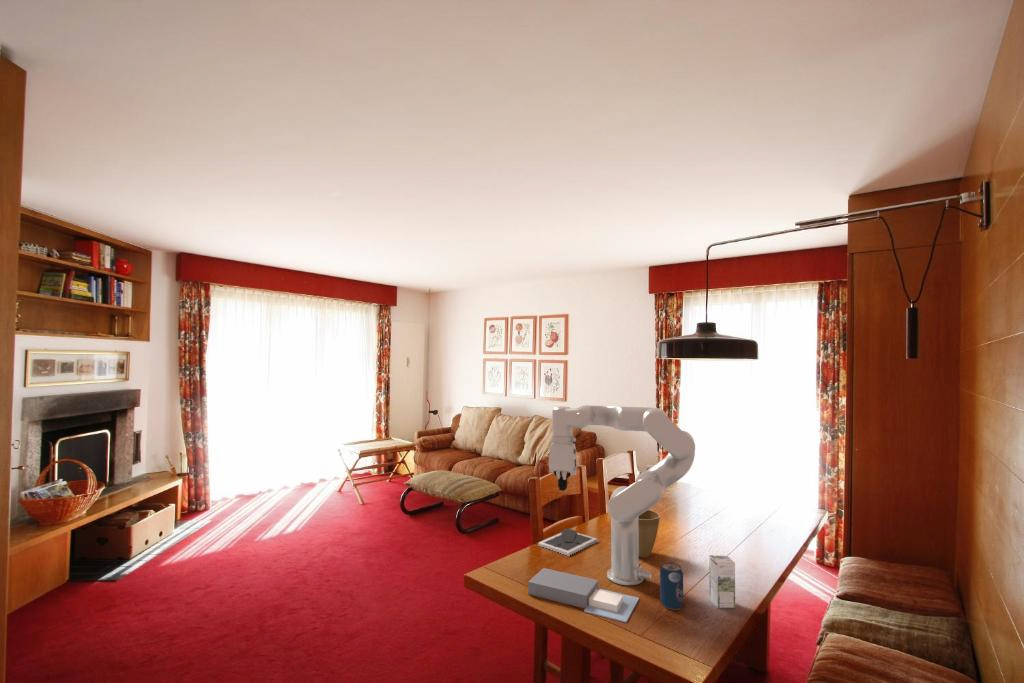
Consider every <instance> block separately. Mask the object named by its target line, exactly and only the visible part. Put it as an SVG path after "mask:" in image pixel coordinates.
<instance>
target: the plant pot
mask: <svg viewBox="0 0 1024 683" xmlns="http://www.w3.org/2000/svg"><path fill="white" fill-rule="evenodd" d="M660 519H661V515H660V514H659V513H658V512H656V511H654V510H650V509H649V510H647V511H646V512H644V513H642V514H641V515H639V516H638V532H639V534H638V540H639V558H644V559H645V558H649V557H651V554H652V552H653V549H654V545H655V543H656V538H657V536H658V530H659V524H660Z"/></svg>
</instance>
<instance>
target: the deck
mask: <svg viewBox="0 0 1024 683" xmlns="http://www.w3.org/2000/svg"><path fill="white" fill-rule="evenodd" d="M527 583H528V584H527V586H528V589H527V590H528V592H527V593H528V595H530V596H535V597H538V598H542V599H545V600H546V599H547V600H549V601H554V602H558V603H562V604H565V605H570V606H573V607H577V608H582V609H584V610H585V608H586V607H587V606H588V604H589V598H590V596H591V595H592V594H593V592H594V591H595V590H599V579H594V578H589V577H585V576H581V575H576V574H572V573H569V572H563V571H558V570H554V569H549V568H546V567H545V568H544V567H543V568H542V569H540V570H539V572H537V573H536V574H535V575H534V576H533V577H532V578H530V580H528V581H527Z"/></svg>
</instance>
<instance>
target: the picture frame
mask: <svg viewBox="0 0 1024 683" xmlns="http://www.w3.org/2000/svg"><path fill="white" fill-rule="evenodd" d="M598 539H599V538H596V537H593V536H589V535H587V534H582V533H579V532H577V530H574V529H571V528H565V529H563V530H561V531H560V533H558V534H557V533H556V534H554V535H553V536H551V537H547V538H545V539H543V540H542V541H538V542H537V546H538V547H540V546H541V547H540V548H542V547H544V548H543V549H545V548H547V549H546V550H548V549H550V550H549V551H551V550H553V551H552V552H554V551H556V552H555V553H557V552H559V553H558V554H560V553H561V555H563V554H564V555H563V556H566V555H567V557H571V556H572V554H573V555H575V554H577V553H579V552H581V551H583V550H585V549H586V547H587V548H588V546H589V547H591V546H593V545H594V544H597V543H598V542H599V540H598ZM592 544H593V545H592ZM590 545H591V546H590ZM584 548H585V549H584ZM582 549H583V550H582ZM580 550H581V551H580ZM578 551H579V552H578ZM576 552H577V553H576ZM574 553H575V554H574ZM570 555H571V556H570Z"/></svg>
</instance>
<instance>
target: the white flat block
mask: <svg viewBox="0 0 1024 683" xmlns="http://www.w3.org/2000/svg"><path fill="white" fill-rule="evenodd" d="M622 603H623V596H622V595H618V594H614V593H609V592H605V591H601V590H600V589H598V590H595V591H594V592H593V594H592V595H591V596H590V598H589V605H590V606H594V607H598V608H602V609H606V610H610V611H614V612H618V610H619V608H620V607H621V605H622Z"/></svg>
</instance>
